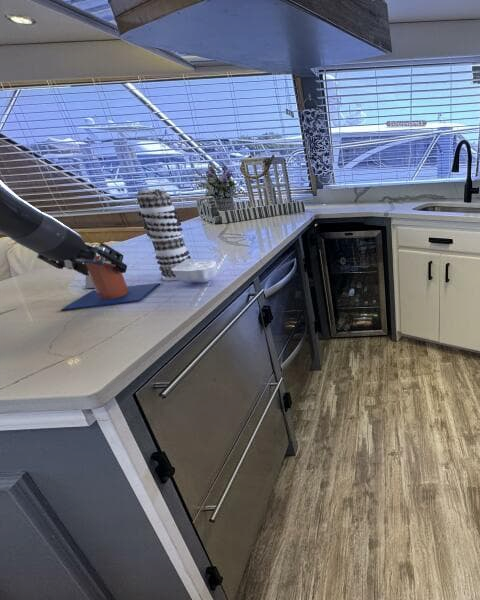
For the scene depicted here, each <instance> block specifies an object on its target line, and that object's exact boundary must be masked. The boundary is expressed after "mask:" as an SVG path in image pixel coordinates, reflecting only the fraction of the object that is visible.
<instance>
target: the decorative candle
mask: <svg viewBox="0 0 480 600" xmlns="http://www.w3.org/2000/svg"><path fill="white" fill-rule="evenodd" d="M135 198H136V199H137V203H138V206H139V211H138V212H137V215H138V216H139V217H141V218H142V219H141V220H140V221H141V224H143V229H144V230H146V231H147V232H146V233H145V234H146V235H147V237H148V240H149V241H150V242H152V246H153V248H154V250H153V251H154V253H155V257H154V259H155V260H157V262H156V263H157V264H158V265H160V266H159V267H158V270H159V271H161V272H160V275H161V276H162V280H163V281H167V282H169V281H180V280H179V279H178V278H177V277H176V275H175V273H174V272H173V271H172V270H171V269H172V268H174V267H175V266H178V265H180V264H182V262H183V261H184V260H185V259H192V257H191V256H190V255H189V254H190V251H189V250H188V249H187V245H186V244H185V241H184V236H185V235H184V234H183V233H181V232H182V231H183V230H184V229H183V228H182V227H180V226H182V222H180V221H178V220H179V219H180V215H178V213H179V210H178V209H176V208H175V206H174V204H173V202H172V199H171V193H168V192H167V191H166V190H164V189H163V188H151V189H150V188H149V189H141V190H138V191H137V195H135Z"/></svg>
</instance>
